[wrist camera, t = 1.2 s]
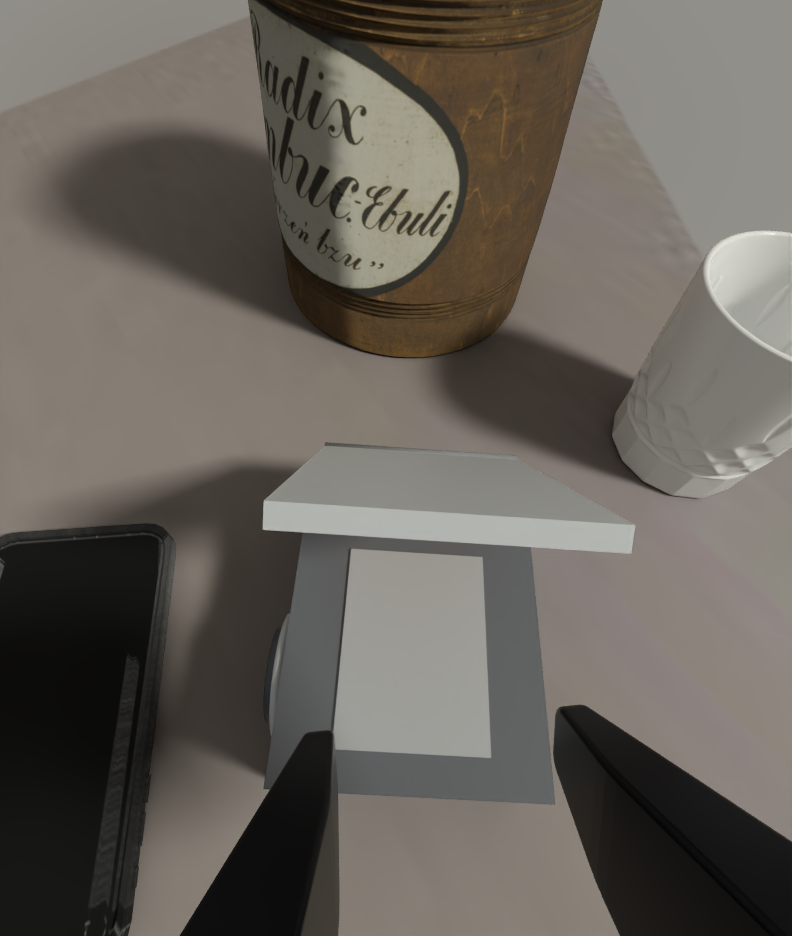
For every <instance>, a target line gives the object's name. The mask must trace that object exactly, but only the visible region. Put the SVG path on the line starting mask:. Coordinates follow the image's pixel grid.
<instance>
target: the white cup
mask: <svg viewBox="0 0 792 936" xmlns="http://www.w3.org/2000/svg"><path fill="white" fill-rule="evenodd" d="M612 438H613V440H614V442H615V445H616V447H617V450H618V452H619V455H620V457H621V459H622V461H623V462H624V463H625V464H626V465H627V466H628V467H629V468H630V469H631V470H632V471H633V472H634V473H635V474H636V475H637V476H638V477H639V478H640V479H641V480H642V481H643V482H645V483H647V484H649V485H651V486H653V487H655V488H657V489H660V490H662V491H664V492H666V493H668V494H670V495H673V496H681V497H691V498H700V499H702V498H705V497H708V496H711V495H714V494H717V493H719V492H722V491H725V490H727V489H729V488H730V487H732V486H733V485H734V484H736V483H737V482H739V481H740V480H741V479H743V478H744V477H746V476H747V475H748V474H750V473H751V472H753V471H755V470H757V469H759V468H761V467H763V466H764V465H766V464H768V463H769V462H771V461H772V460H774V459H776V458H777V457H778V456H780V455H781V454H782V453H783V452H785V451H787V450H789V449H790V448H792V233H788V232H780V231H750V232H743V233H739V234H736V235H732V236H729V237H727V238H725V239H723V240H721V241H720V242H718V243H717V244H715V245H714V246H713V247H712V248H711V249H710V251H709V252H708V253H707V255H706V257H705V258H704V260H703V262H702V263H701V265H700V267H699V269H698V270H697V272H696V274H695V275H694V277H693V279H692V280H691V282H690V284H689V286H688V287H687V289H686V291H685V292H684V294H683V296H682V297H681V299H680V301H679V302H678V304H677V306H676V307H675V309H674V311H673V312H672V314H671V316H670V317H669V319H668V321H667V322H666V324H665V326H664V327H663V329H662V331H661V332H660V334H659V336H658V337H657V339H656V341H655V342H654V344H653V346H652V348H651V350H650V352H649V354H648V356H647V358H646V359H645V361H644V362H643V364H642V366H641V368H640V369H639V371H638V373H637V375H636V378H635V380H634V382H633V385H632V387H631V389H630V390H629V392H628V394H627V395H626V397H625V398H624V400H623V402H622V403H621V405H620V406H619V408H618V410H617V411H616V413H615V417H614V424H613V432H612Z"/></svg>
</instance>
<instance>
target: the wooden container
mask: <svg viewBox="0 0 792 936" xmlns="http://www.w3.org/2000/svg"><path fill="white" fill-rule="evenodd" d="M602 1H603V0H248V4H249V11H250V18H251V25H252V33H253V40H254V47H255V54H256V61H257V68H258V75H259V82H260V89H261V97H262V104H263V112H264V120H265V129H266V137H267V146H268V153H269V160H270V168H271V175H272V182H273V189H274V195H275V202H276V208H277V214H278V221H279V226H280V230H281V234H282V240H283V248H284V254H285V260H286V266H287V272H288V278H289V283H290V287H291V291H292V294H293V296H294V299H295V301H296V303H297V304H298V306H299V307H300V309H301V311H302V312H303V313H304V314H305V315H306V317H307V318H308V319H309V320H310V321H311V322H313V323H314V324H315V325H316V326H317V327H318V328H319V329H320V330H322V331H324V332H325V333H326V334H328V335H330V336H332V337H334V338H335V339H337V340H339V341H341V342H343V343H345V344H348V345H350V346H353V347H355V348H358V349H361V350H364V351H368V352H372V353H376V354H382V355H387V356H394V357H429V356H436V355H441V354H446V353H450V352H453V351H458V350H461V349H463V348H466V347H468V346H470V345H472V344H474V343H477V342H479V341H481V340H482V339H483V338H485V337H487V336H488V335H490V334H491V333H492V332H494V331H495V330H496V329H497V328H498V327H499V326H500V325H501V324H502V323H503V322H504V320H505V319H506V318H507V316H508V315H509V313H510V312H511V309H512V307H513V305H514V303H515V300H516V297H517V294H518V291H519V288H520V284H521V281H522V278H523V275H524V272H525V269H526V265H527V262H528V259H529V255H530V253H531V250H532V247H533V244H534V241H535V238H536V235H537V232H538V229H539V226H540V223H541V219H542V216H543V213H544V209H545V206H546V203H547V199H548V196H549V193H550V190H551V186H552V183H553V179H554V176H555V172H556V169H557V165H558V161H559V158H560V154H561V150H562V146H563V142H564V138H565V135H566V131H567V127H568V124H569V120H570V116H571V113H572V109H573V105H574V102H575V98H576V94H577V91H578V87H579V84H580V80H581V77H582V74H583V70H584V66H585V62H586V59H587V55H588V52H589V48H590V44H591V41H592V37H593V34H594V31H595V27H596V24H597V20H598V16H599V13H600V9H601V5H602Z"/></svg>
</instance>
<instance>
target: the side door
mask: <svg viewBox="0 0 792 936" xmlns="http://www.w3.org/2000/svg"><path fill="white" fill-rule="evenodd" d="M263 530H274V531H289V532H305V533H320V534H336V535H351V536H367V537H382V538H398V539H413V540H429V541H444V542H460V543H475V544H491V545H506V546H522V547H537V548H553V549H568V550H584V551H599V552H615V553H630V554H631V552H632V545H633V538H634V531H635V525H634V524H633V523H631V522H629V521H627V520H625V519H624V518H622V517H620V516H618V515H617V514H615V513H613V512H611V511H609V510H608V509H606V508H604V507H602V506H600V505H599V504H597V503H595V502H593V501H592V500H590V499H588V498H586V497H584V496H583V495H581V494H579V493H577V492H576V491H574V490H572V489H570V488H568V487H567V486H565V485H563V484H561V483H560V482H558V481H556V480H554V479H552V478H551V477H549V476H547V475H545V474H544V473H542V472H540V471H538V470H536V469H535V468H533V467H531V466H529V465H527V464H526V463H524V462H522V461H520V460H519V459H517V456H516V455H502V454H488V453H473V452H458V451H444V450H429V449H415V448H400V447H385V446H371V445H356V444H342V443H327V442H326V443H325V446H324V447H323V448H322V449H321V450H319V451H318V452H317V453H316V454H315V455H314V456H313V457H312V458H311V459H309V460H308V461H307V462H306V463H305V464H304V465H303V466H302V467H300V468H299V469H298V470H297V471H296V472H295V473H294V474H293V475H292V476H290V477H289V478H288V479H287V480H286V481H285V482H284V483H283V484H282V485H280V486H279V487H278V488H277V489H276V490H275V491H274V492H273V493H272V494H270V495H269V496H268V497H267V498H266V499H265V500H264V505H263Z"/></svg>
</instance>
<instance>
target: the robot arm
mask: <svg viewBox="0 0 792 936" xmlns="http://www.w3.org/2000/svg"><path fill="white" fill-rule="evenodd" d="M553 756H554V763H555V767H556V771H557V774H558V776H559V779H560V782H561V785H562V788H563V791H564V794H565V796H566V799H567V802H568V805H569V808H570V811H571V813H572V816H573V819H574V822H575V825H576V828H577V831H578V833H579V836H580V839H581V842H582V845H583V848H584V850H585V853H586V856H587V859H588V862H589V865H590V867H591V870H592V873H593V875H594V878H595V881H596V883H597V885H598V888H599V890H600V892H601V895H602V897H603V899H604V902H605V904H606V906H607V908H608V910H609V913H610V915H611V917H612V919H613V921H614V924H615V926H616V928H617V930H618V932H619V935H620V936H792V842H791V841H790V840H788V839H787V838H785V837H784V836H782V835H781V834H779V833H778V832H776V831H775V830H773V829H772V828H770V827H769V826H767V825H766V824H764V823H763V822H761V821H760V820H758V819H757V818H755V817H754V816H752V815H751V814H749V813H748V812H746V811H745V810H743V809H742V808H740V807H738V806H737V805H735V804H734V803H732V802H731V801H729V800H728V799H726V798H725V797H723V796H722V795H720V794H719V793H717V792H716V791H714V790H713V789H711V788H710V787H708V786H707V785H705V784H704V783H702V782H701V781H699V780H698V779H696V778H695V777H693V776H692V775H690V774H689V773H687V772H686V771H684V770H682V769H681V768H679V767H678V766H676V765H675V764H673V763H672V762H670V761H669V760H667V759H666V758H664V757H663V756H661V755H660V754H658V753H657V752H655V751H654V750H652V749H651V748H649V747H648V746H646V745H645V744H643V743H642V742H640V741H639V740H637V739H636V738H634V737H633V736H631V735H630V734H628V733H626V732H625V731H623V730H622V729H620V728H619V727H617V726H616V725H614V724H613V723H611V722H610V721H608V720H607V719H605V718H604V717H602V716H601V715H599V714H598V713H596V712H595V711H593V710H592V709H590V708H589V707H587V706H585V705H572V706H562V707H560V708H558V709H557V711H556V714H555V729H554V746H553ZM338 927H339V830H338V780H337V765H336V750H335V737H334V733H333V731H331V730H323V731H313V732H307V733H306V734H305V735H304V736H303V737H302V739H301V740H300V742H299V744H298V745H297V747H296V748H295V750H294V752H293V753H292V755H291V757H290V758H289V760H288V761H287V763H286V765H285V766H284V768H283V769H282V771H281V773H280V774H279V776H278V778H277V779H276V781H275V782H274V784H273V786H272V787H271V789H270V791H269V792H268V794H267V795H266V797H265V799H264V800H263V802H262V803H261V805H260V807H259V808H258V810H257V812H256V813H255V815H254V816H253V818H252V820H251V821H250V823H249V825H248V826H247V828H246V829H245V831H244V833H243V834H242V836H241V837H240V839H239V841H238V842H237V844H236V846H235V847H234V849H233V850H232V852H231V854H230V855H229V857H228V858H227V860H226V862H225V863H224V865H223V867H222V868H221V870H220V871H219V873H218V875H217V876H216V878H215V880H214V881H213V883H212V884H211V886H210V888H209V889H208V891H207V892H206V894H205V896H204V897H203V899H202V901H201V902H200V904H199V905H198V907H197V909H196V910H195V912H194V914H193V915H192V917H191V918H190V920H189V922H188V923H187V925H186V926H185V928H184V930H183V931H182V933H181V935H180V936H338Z"/></svg>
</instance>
